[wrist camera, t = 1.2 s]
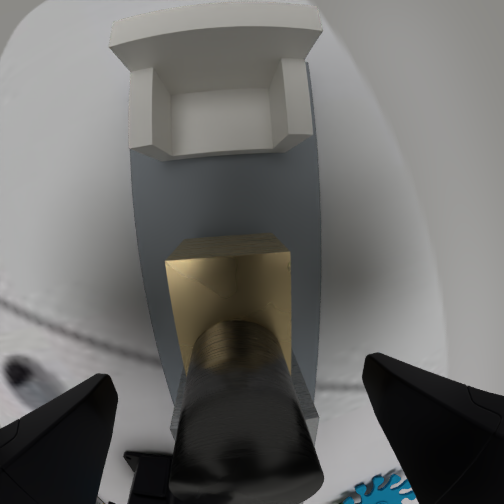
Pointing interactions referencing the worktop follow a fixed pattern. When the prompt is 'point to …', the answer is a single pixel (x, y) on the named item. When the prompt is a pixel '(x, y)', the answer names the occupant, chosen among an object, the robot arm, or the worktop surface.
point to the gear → (383, 492)
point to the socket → (218, 78)
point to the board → (232, 230)
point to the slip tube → (238, 375)
